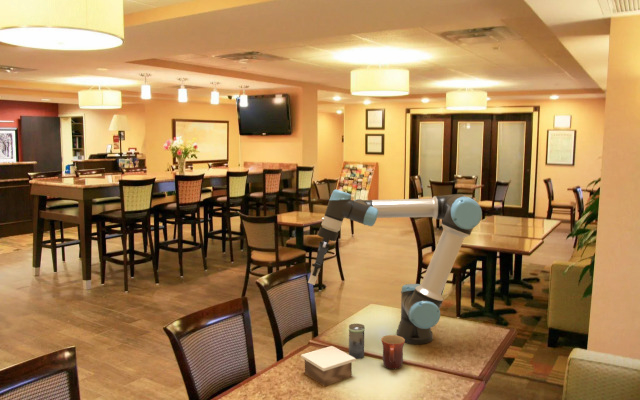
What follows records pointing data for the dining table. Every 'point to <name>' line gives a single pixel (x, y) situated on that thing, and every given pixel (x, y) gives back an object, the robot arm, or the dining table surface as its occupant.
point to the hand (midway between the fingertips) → (312, 280)
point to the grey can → (356, 340)
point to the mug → (392, 351)
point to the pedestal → (328, 365)
